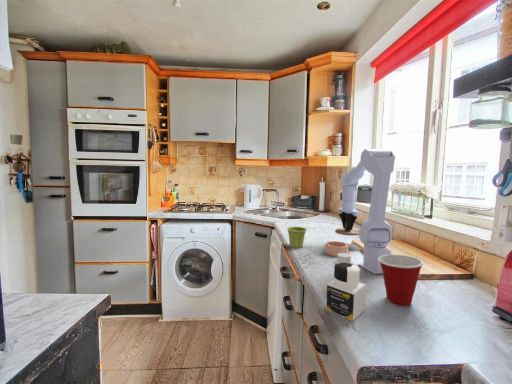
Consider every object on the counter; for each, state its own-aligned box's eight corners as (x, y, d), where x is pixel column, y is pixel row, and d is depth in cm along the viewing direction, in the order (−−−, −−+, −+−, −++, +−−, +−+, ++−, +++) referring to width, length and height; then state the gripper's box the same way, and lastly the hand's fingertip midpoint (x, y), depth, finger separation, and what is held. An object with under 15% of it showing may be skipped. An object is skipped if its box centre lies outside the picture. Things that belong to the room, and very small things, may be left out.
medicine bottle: (325, 310, 64) (327, 265, 63) (339, 300, 69) (340, 258, 68) (352, 322, 59) (354, 273, 58) (364, 310, 64) (366, 265, 63)
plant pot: (309, 246, 120) (310, 228, 119) (300, 250, 113) (300, 232, 112) (293, 242, 126) (293, 225, 125) (282, 246, 119) (283, 229, 118)
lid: (365, 234, 112) (365, 224, 112) (343, 236, 110) (344, 225, 109) (350, 229, 123) (351, 219, 123) (330, 230, 120) (331, 220, 120)
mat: (366, 250, 113) (366, 249, 113) (343, 252, 110) (343, 251, 110) (350, 243, 124) (350, 242, 124) (329, 245, 122) (329, 244, 121)
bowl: (351, 256, 105) (352, 246, 104) (332, 258, 103) (333, 248, 102) (339, 250, 113) (340, 240, 113) (322, 251, 111) (322, 242, 111)
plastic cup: (381, 287, 77) (382, 249, 76) (423, 299, 70) (425, 257, 69) (371, 301, 68) (373, 259, 67) (418, 316, 61) (420, 269, 60)
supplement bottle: (348, 282, 80) (349, 251, 79) (355, 291, 75) (356, 257, 74) (331, 282, 80) (332, 251, 79) (336, 290, 75) (337, 257, 74)
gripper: (366, 201, 109) (365, 232, 110) (346, 198, 123) (346, 225, 124) (352, 202, 107) (351, 233, 108) (334, 198, 121) (333, 226, 122)
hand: (347, 229), depth 116 cm, fingers closed on lid, 3 cm apart
